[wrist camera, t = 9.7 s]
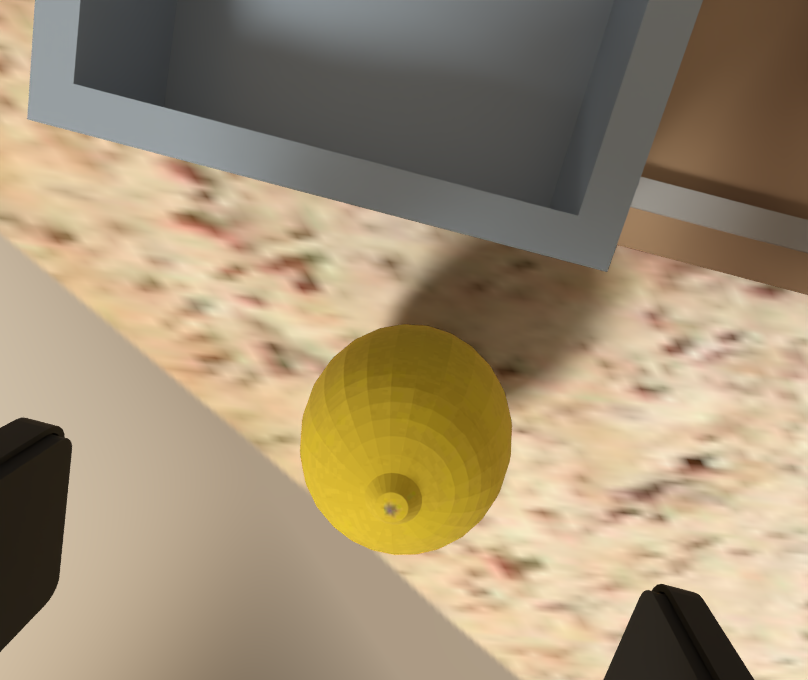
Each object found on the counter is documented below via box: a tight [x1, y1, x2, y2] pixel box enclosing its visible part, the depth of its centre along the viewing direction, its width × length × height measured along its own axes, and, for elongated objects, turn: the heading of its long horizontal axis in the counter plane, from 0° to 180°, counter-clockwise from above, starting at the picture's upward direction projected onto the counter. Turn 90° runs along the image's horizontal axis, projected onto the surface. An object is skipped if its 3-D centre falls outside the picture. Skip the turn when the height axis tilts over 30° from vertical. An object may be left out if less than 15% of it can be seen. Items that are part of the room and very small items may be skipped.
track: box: [617, 0, 808, 295], centre depth 14 cm, size 26×10×4 cm, turn 76°
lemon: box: [300, 324, 512, 555], centre depth 15 cm, size 6×6×8 cm
